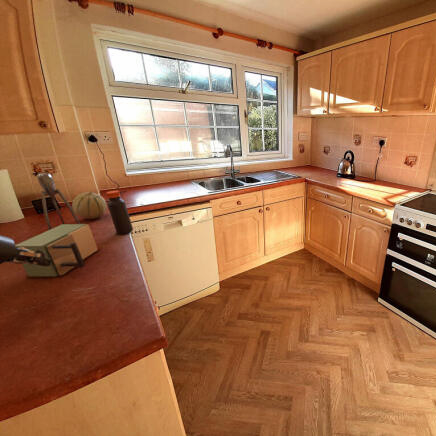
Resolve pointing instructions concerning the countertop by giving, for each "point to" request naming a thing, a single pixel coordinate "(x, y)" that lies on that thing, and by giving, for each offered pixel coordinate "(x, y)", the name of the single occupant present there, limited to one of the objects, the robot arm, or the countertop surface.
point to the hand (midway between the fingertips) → (48, 262)
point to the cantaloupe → (89, 205)
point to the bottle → (119, 213)
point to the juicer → (52, 196)
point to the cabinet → (40, 241)
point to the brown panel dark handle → (65, 254)
